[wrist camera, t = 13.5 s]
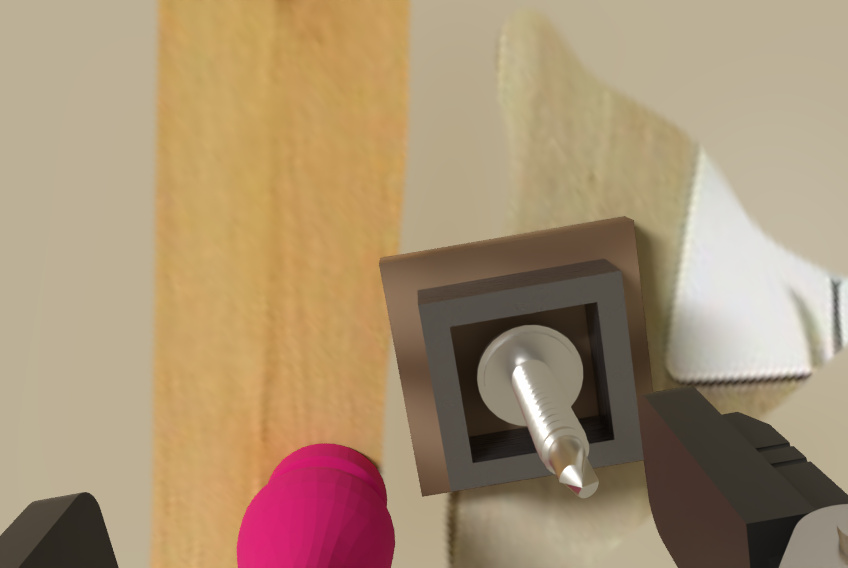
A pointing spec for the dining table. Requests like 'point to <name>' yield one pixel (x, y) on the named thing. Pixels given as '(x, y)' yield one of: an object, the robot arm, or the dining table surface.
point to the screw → (540, 397)
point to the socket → (517, 295)
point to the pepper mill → (319, 514)
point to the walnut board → (501, 323)
